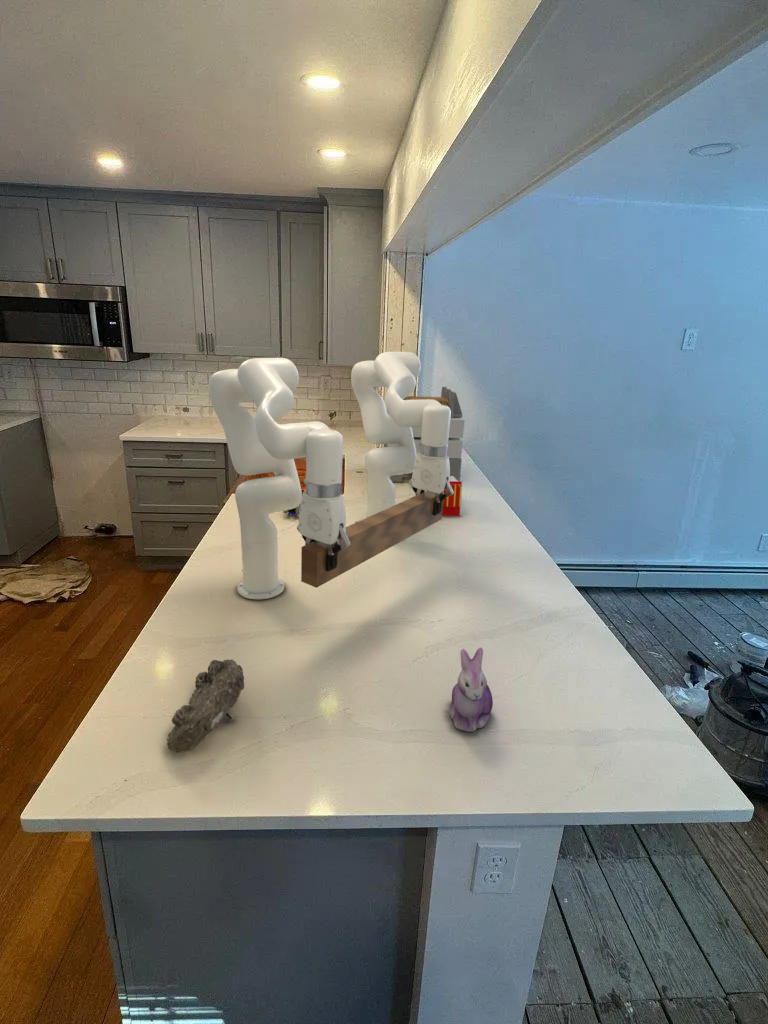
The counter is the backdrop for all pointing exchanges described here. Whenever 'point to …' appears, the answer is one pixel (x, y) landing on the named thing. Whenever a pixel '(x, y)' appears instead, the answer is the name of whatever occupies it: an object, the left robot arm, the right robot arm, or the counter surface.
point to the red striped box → (453, 499)
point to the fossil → (206, 705)
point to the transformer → (455, 432)
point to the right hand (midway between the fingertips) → (428, 511)
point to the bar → (370, 538)
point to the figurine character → (293, 510)
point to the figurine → (471, 694)
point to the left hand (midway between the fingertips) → (322, 564)
